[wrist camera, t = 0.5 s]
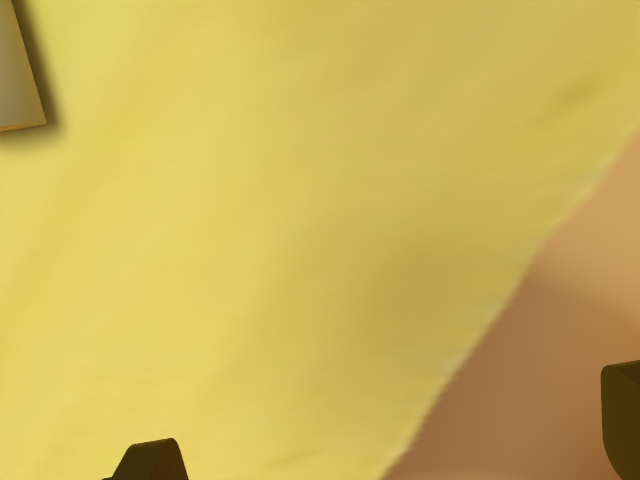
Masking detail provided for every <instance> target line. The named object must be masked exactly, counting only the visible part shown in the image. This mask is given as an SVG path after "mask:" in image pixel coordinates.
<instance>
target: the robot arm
mask: <svg viewBox="0 0 640 480" xmlns="http://www.w3.org/2000/svg"><path fill="white" fill-rule="evenodd" d="M601 402H602V430H603V442H604V446H605V450H606V453H607V456H608V458H609V460H610V462H611V464H612V466H613V468H614V469H615V471H616V472H617V474H618V475H619V476H620V478H621V479H622V480H640V360H637V361H631V362H626V363H619V364H613V365H607V366H605V367H604V368H603V369H602V372H601ZM102 480H189V479H188V476H187V472H186V469H185V465H184V462H183V459H182V455H181V452H180V449H179V446H178V444H177V442H176V440H175V439H173V438H168V439H162V440H156V441H150V442H144V443H138V444H133V445H131V446H130V447H129V448H128V449H127V451H126V453H125V455H124V456H123V458H122V460H121V462H120V463H119V465H118V467H117V469H116V471H115V472H114V474H113V476H112V477H110V478H104V479H102Z"/></svg>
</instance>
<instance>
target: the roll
mask: <svg viewBox="0 0 640 480" xmlns="http://www.w3.org/2000/svg"><path fill="white" fill-rule="evenodd" d="M46 123H47V121H46V118H45V115H44V111H43V108H42V104H41V101H40V97H39V94H38V90H37V87H36V83H35V80H34V77H33V73H32V70H31V66H30V63H29V59H28V56H27V52H26V49H25V45H24V42H23V39H22V35H21V32H20V28H19V25H18V21H17V18H16V14H15V11H14V7H13V4H12V1H11V0H0V132H5V131H12V130H18V129H24V128H30V127H36V126H41V125H44V124H46Z"/></svg>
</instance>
